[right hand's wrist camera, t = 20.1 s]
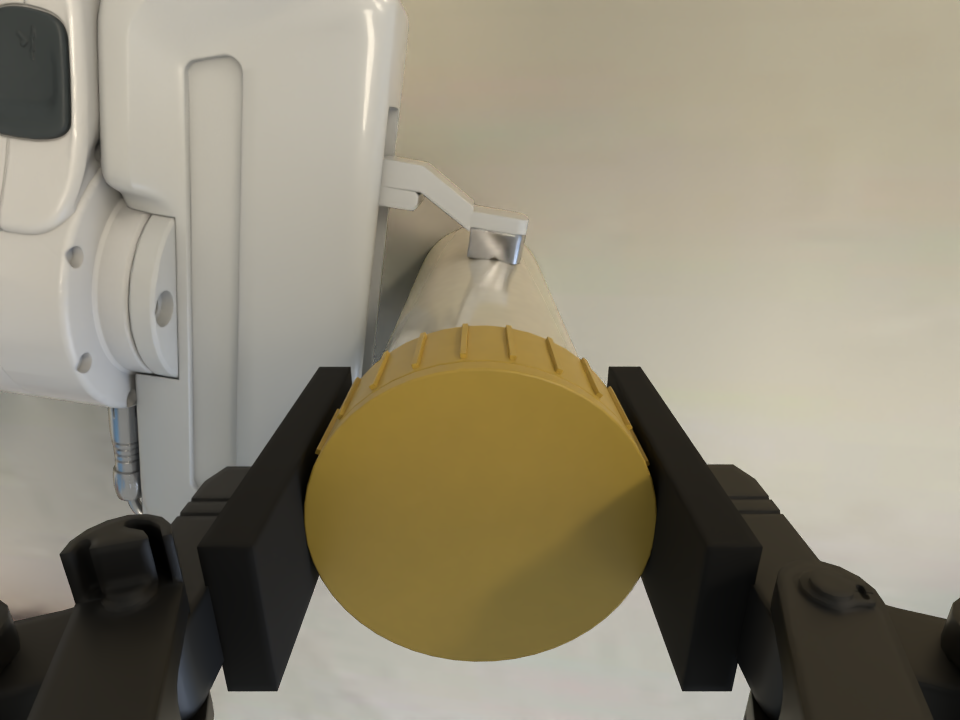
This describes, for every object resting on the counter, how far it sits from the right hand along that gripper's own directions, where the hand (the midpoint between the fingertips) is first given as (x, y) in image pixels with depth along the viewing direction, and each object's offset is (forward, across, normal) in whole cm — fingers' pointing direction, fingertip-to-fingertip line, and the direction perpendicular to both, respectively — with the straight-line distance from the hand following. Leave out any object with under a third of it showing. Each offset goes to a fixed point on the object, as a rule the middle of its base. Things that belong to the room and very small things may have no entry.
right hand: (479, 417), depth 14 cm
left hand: (+6, -1, 0) cm, 6 cm away
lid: (-4, 0, 0) cm, 4 cm away
